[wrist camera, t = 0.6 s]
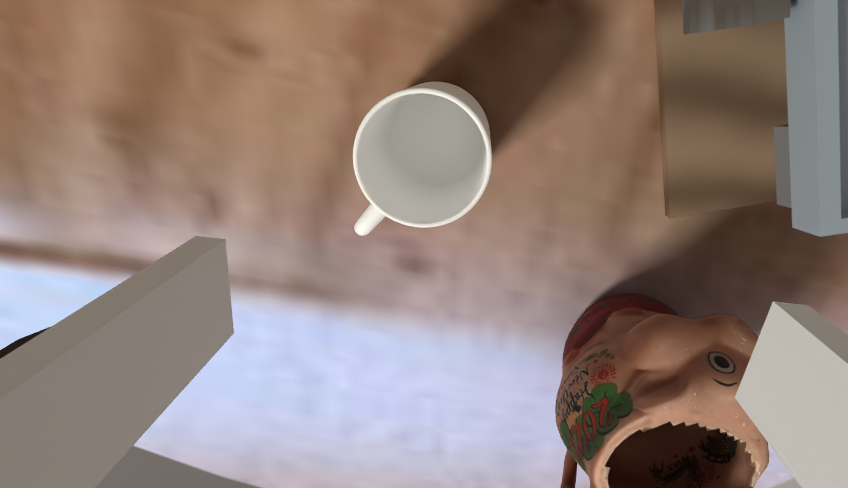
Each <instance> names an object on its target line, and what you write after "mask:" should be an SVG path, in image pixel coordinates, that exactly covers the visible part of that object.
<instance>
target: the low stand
mask: <svg viewBox="0 0 848 488" xmlns="http://www.w3.org/2000/svg"><path fill="white" fill-rule="evenodd" d="M654 2H655V22H656V41H657V60H658V80H659V99H660V119H661V138H662V157H663V177H664V196H665V215H666V216H668V217H669V218H670V219H671V218H677V217H683V216H689V215H695V214H702V213H708V212H714V211H720V210H726V209H733V208H739V207H745V206H751V205H757V204H763V203H770V202H776V201H777V194H776V172H775V150H774V129H773V127H774V126H780V125H785V124H788V103H787V77H786V51H785V26H784V18H788V17H790V6H791V0H654Z"/></svg>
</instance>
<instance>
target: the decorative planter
mask: <svg viewBox="0 0 848 488" xmlns="http://www.w3.org/2000/svg"><path fill="white" fill-rule="evenodd" d="M757 340H758V337H757V335H756V334H755V333H754V332H753V331H752V329H751V328H750V327H748V326H747V325H746V324H745V323H744V322H743V321H741V320H740V319H738V318H736V317H734V316H732V315H729V314H725V313H718V314H713V315H709V316H704V317H700V318H694V319H688V318H683V317H679V316H678V315H677V314H676V313H675V312H674V311H673V310H672V309H671V308H669V307H668V306H666V305H665V304H663V303H661V302H659V301H657V300H655V299H652V298H650V297H646V296H642V295H637V294H622V295H617V296H613V297H609V298H606V299H604V300H601V301H599V302H597V303H596V304H594V305H593V306H592V307H590V308H589V309H588V310H587V311H586V312H585V313H584V314H583V315H582V316H581V317H580V318H579V319H578V321H577V322H576V323H575V325H574V326H573V328H572V330H571V331H570V333H569V335H568V338H567V340H566V343H565V348H564V353H563V367H562V369H563V375H562V380H561V384H560V387H559V390H558V394H557V399H556V423H557V427H558V430H559V433H560V436H561V438H562V440H563V442H564V444H565V446H566V447H567V452H566V456H565V460H564V470H563V476H562V483H561V488H575V483H576V473H577V463H578V464H579V465H580V467H581V468H582V469H583V470H584V471H585V472H586V473H587V475H588V476H589V478H590V488H753V487H754V485H755V484H756V482H757V480H758V479H759V477H760V476H761V474H762V473H763V472H764V470H765V469H766V467H767V465H768V463H769V451H768V442H767V440H766V439H765V438H764V436H763V435H762V434H761V432H760V431H759V430H758V428H757V427H756V426H755V424H754V423H753V422H752V420H751V419H750V418H749V416H748V415H747V414H746V412H745V411H744V409H743V408H742V407H741V405H740V404H739V403H738V401H737V400H736V399H735V396H736V393H737V391H738V388H739V386H740V383H741V381H742V378H743V376H744V373H745V370H746V368H747V365H748V363H749V360H750V358H751V355H752V353H753V350H754V348H755V345H756V343H757Z"/></svg>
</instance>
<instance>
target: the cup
mask: <svg viewBox="0 0 848 488" xmlns="http://www.w3.org/2000/svg"><path fill="white" fill-rule="evenodd" d="M353 163H354V170H355V174H356V178H357V180H358V183H359V185H360V187H361V189H362V191H363V193H364V194H365V196H366V197H367V199H368V200H369V201H370V202H371V204H370V205H369V206H368V208H367V209H366V210H365V212H364V213H363V214H362V215H361V217H360V218H359V219H358V221H357V222H356V224H355V227H354V228H355V231H356V233H357V234H359V235H366V234H368V233H369V232H371V231H372V230H373V229H374V228H375V227H376V226H377V225H378V224H379V223H380V222H381V221H382V219H383V218H384V217H385V216H387V217H388V218H390V219H392V220H394V221H396V222H399V223H401V224H405V225H408V226H413V227H435V226H440V225H444V224H447V223H450V222H452V221H454V220H456V219H458V218H460V217H461V216H463V215H464V214H465V213H467V212H468V211H469V210H470V209H471V208H472V207H473V206H474V205H475V204H476V203H477V202H478V200H479V199H480V198H481V196H482V194H483V193H484V191H485V189H486V186H487V184H488V181H489V178H490V174H491V168H492V149H491V139H490V130H489V124H488V121H487V118H486V115H485V113H484V111H483V109H482V108H481V106H480V104H479V103H478V102H477V101H476V99H475V98H474V97H473V96H472V95H470V94H469V93H468V92H467V91H465V90H464V89H462V88H460V87H458V86H455V85H453V84H449V83H445V82H426V83H422V84H418V85H415V86H413V87H410V88H407V89H404V90H401V91H398V92H396V93H393V94H391V95H389V96H387V97H386V98H384V99H382V100H381V101H380V102H379V103H377V104H376V105H375V106H374V107H373V108H372V109H371V110H370V111H369V112H368V114H367V115H366V116H365V118H364V119H363V121H362V123H361V125H360V127H359V129H358V131H357V134H356V138H355V142H354V149H353Z"/></svg>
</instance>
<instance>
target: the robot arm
mask: <svg viewBox="0 0 848 488" xmlns="http://www.w3.org/2000/svg"><path fill="white" fill-rule="evenodd" d="M233 333H234V329H233V319H232V308H231V297H230V286H229V275H228V264H227V253H226V242H225V239H218V238H209V237H200V236H195V237H194V238H192V239H191V240H189V241H187V242H186V243H184V244H183V245H181V246H180V247H178V248H176V249H175V250H173V251H172V252H170V253H168V254H167V255H165V256H164V257H162V258H160V259H159V260H157V261H156V262H154V263H152V264H151V265H149V266H148V267H146V268H144V269H143V270H141V271H140V272H138V273H136V274H135V275H133V276H132V277H130V278H128V279H127V280H125V281H124V282H122V283H121V284H119V285H117V286H116V287H114V288H113V289H111V290H109V291H108V292H106V293H105V294H103V295H101V296H100V297H98V298H97V299H95V300H93V301H92V302H90V303H89V304H87V305H85V306H84V307H82V308H81V309H79V310H77V311H76V312H74V313H73V314H71V315H69V316H68V317H66V318H65V319H63V320H62V321H60V322H58V323H57V324H55V325H54V326H52V327H49V328H46V329H44V330H41V331H39V332H36V333H34V334H31V335H29V336H26V337H23V338H21V339H18V340H16V341H15V342H13V343H11V344H10V345H8V346H7V347H5V348H3V349H2V350H0V488H95V487H96V486H97V485H98V484H99V483H100V482H101V480H102V479H103V478H104V477H105V476H106V475H107V474H108V472H110V470H111V469H112V468H113V467H114V466H115V465H116V464H117V463H118V462H119V460H120V459H121V458H122V457H123V456H124V455H125V454H126V453H127V451H128V450H129V449H130V448H131V447H132V446H133V445H134V444H135V443H136V442H137V440H138V439H139V438H140V437H141V436H142V435H143V434H144V433H145V431H146V430H147V429H148V428H149V427H150V426H151V425H152V424H153V423H154V421H155V420H156V419H157V418H158V417H159V416H160V415H161V414H162V413H163V411H164V410H165V409H166V408H167V407H168V406H169V405H170V404H171V403H172V401H173V400H174V399H175V398H176V397H177V396H178V395H179V394H180V392H181V391H182V390H183V389H184V388H185V387H186V386H187V385H188V384H189V382H190V381H191V380H192V379H193V378H194V377H195V376H196V375H197V374H198V372H199V371H200V370H201V369H202V368H203V367H204V366H205V365H206V364H207V362H208V361H209V360H210V359H211V358H212V357H213V356H214V355H215V353H216V352H217V351H218V350H219V349H220V348H221V347H222V346H223V345H224V343H225V342H226V341H227V340H228V339H229V338H230V337H231V336H232V335H233ZM735 399H736V400H737V401H738V403H739V404H740V405H741V407H742V408H743V409H744V411H745V412H746V414H747V415H748V416H749V418H750V419H751V420H752V422H753V423H754V424H755V426H756V427H757V428H758V430H759V431H760V432H761V434H762V435H763V436H764V438H765V439H766V440H767V442H768V443H769V444H770V446H771V447H772V448H773V450H774V451H775V453H776V454H777V455H778V457H779V458H780V459H781V461H782V462H783V463H784V465H785V466H786V467H787V469H788V470H789V471H790V473H791V474H792V475H793V477H794V478H795V479H796V481H797V482H798V483H799V485H800V486H801V487H802V488H848V335H847V334H845V333H844V332H843V331H841V330H840V329H839V328H837V327H836V326H835V325H833V324H832V323H831V322H829V321H828V320H827V319H826V318H824V317H823V316H822V315H820V314H819V313H818V312H816V311H815V310H814V309H812V308H811V307H810V306H808V305H801V304H792V303H783V302H775V301H773V303H772V305H771V308H770V310H769V313H768V315H767V318H766V320H765V323H764V325H763V328H762V330H761V333H760V335H759V338H758V340H757V343H756V345H755V348H754V350H753V353H752V355H751V358H750V360H749V363H748V365H747V368H746V370H745V373H744V376H743V378H742V381H741V383H740V386H739V388H738V391H737V393H736V396H735Z"/></svg>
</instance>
